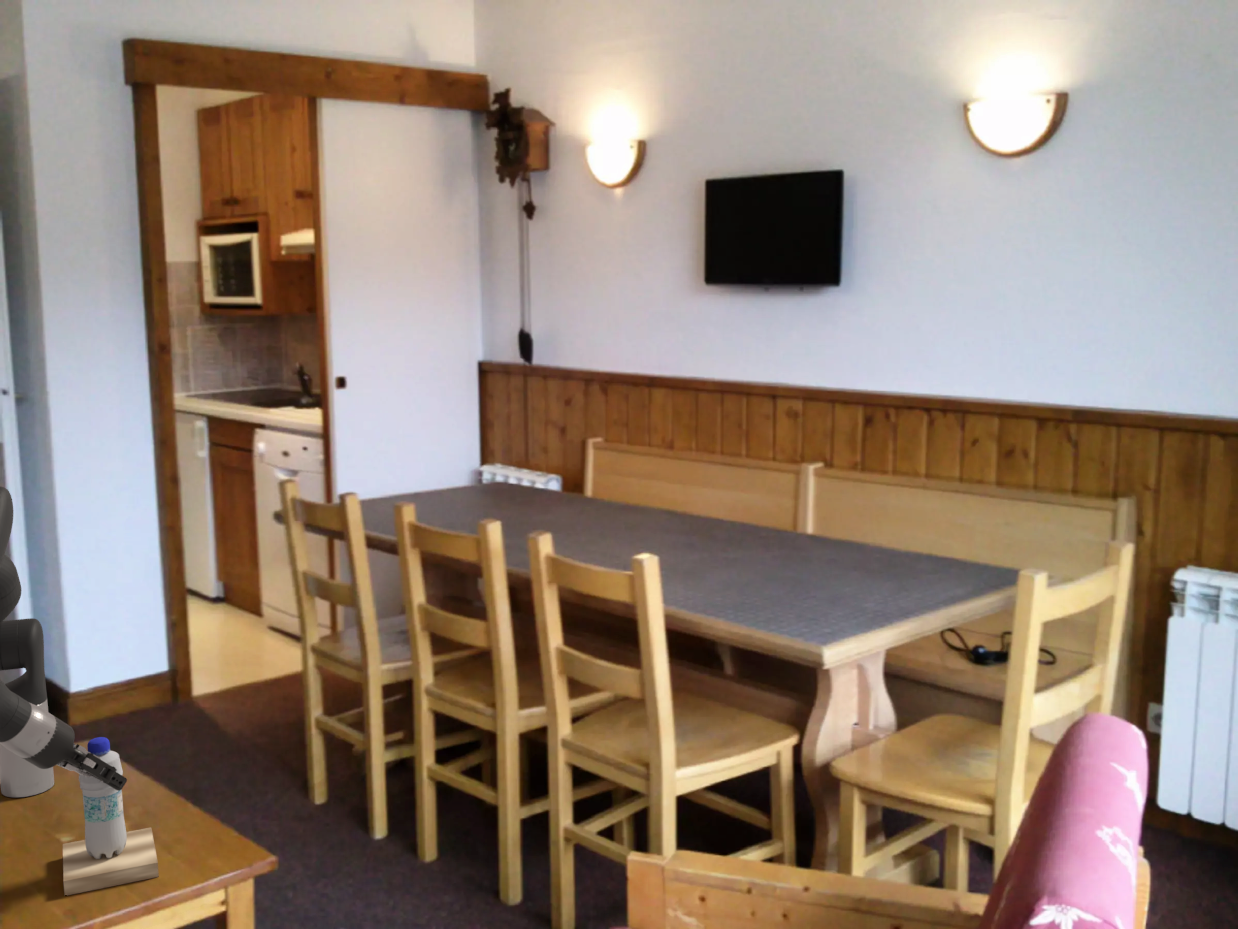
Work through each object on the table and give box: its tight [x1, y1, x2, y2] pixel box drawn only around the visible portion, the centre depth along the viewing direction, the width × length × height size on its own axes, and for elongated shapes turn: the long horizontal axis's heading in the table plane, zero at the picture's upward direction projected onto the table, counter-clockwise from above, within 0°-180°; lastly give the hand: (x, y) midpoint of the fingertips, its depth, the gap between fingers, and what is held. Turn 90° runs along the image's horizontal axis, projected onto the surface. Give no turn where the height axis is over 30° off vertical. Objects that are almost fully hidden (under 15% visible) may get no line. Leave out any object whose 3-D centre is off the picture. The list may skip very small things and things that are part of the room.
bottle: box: [78, 736, 127, 859], centre depth 198 cm, size 7×7×20 cm
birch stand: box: [62, 827, 160, 896], centre depth 200 cm, size 14×14×2 cm
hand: (107, 779), depth 198 cm, fingers open, 8 cm apart
